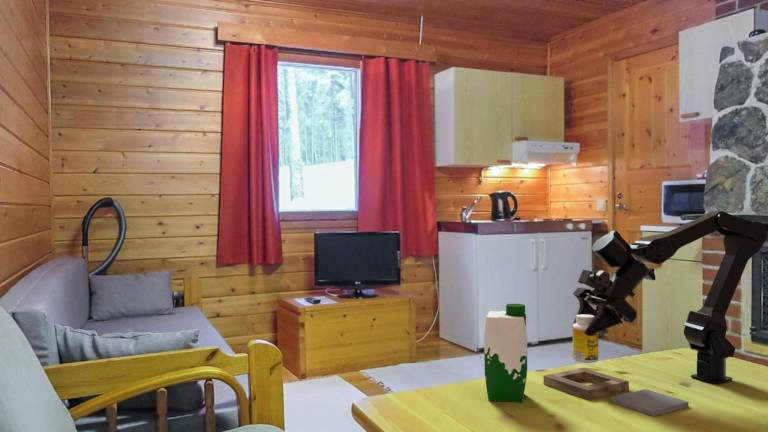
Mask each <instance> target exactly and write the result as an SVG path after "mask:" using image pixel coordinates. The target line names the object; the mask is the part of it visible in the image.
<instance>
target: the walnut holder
mask: <svg viewBox="0 0 768 432" xmlns="http://www.w3.org/2000/svg"><path fill="white" fill-rule="evenodd" d="M581 381H586V382H590V383H592V384H587V385H586V384H583V383H581ZM543 385H544V386H547V387H551V388H553V389H557V390H559V391H562V392H565V393H567V394H571V395H573V396H576V397H579V398H582V399H585V400H587V401H588V400H593V399H597V398H602V397H606V396H611V395H614V394H618V393H619V394H620V393H622V392H627V391H629V390H630V381H629V380H626V379H623V378H620V377H616V376H614V375H613V376H612V375H610V374H606V373H602V372H599V371H596V370H592V369H589V368H586V367H581V368H575V369H571V370H570V369H569V370H566V371H559V372H555V373H550V374H546V375H545V374H544V375H543Z"/></svg>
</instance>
